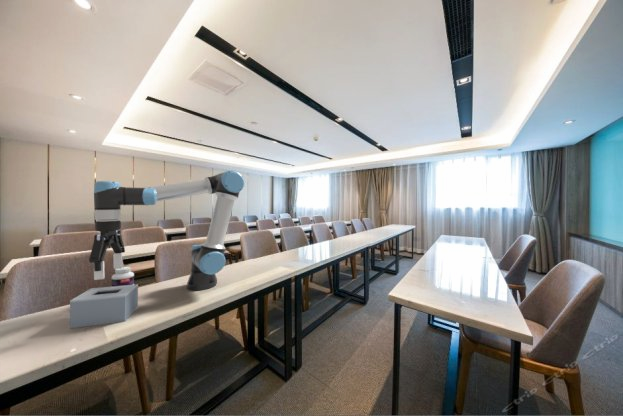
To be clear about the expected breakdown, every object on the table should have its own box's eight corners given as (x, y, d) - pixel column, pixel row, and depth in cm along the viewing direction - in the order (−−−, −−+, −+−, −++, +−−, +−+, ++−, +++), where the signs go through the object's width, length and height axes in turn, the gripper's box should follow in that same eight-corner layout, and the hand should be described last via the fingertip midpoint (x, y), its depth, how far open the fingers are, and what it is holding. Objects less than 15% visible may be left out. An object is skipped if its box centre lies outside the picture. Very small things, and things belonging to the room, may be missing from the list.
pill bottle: (120, 303, 97) (120, 271, 97) (106, 301, 99) (106, 270, 98) (138, 296, 105) (138, 266, 105) (124, 294, 106) (125, 265, 106)
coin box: (137, 307, 94) (138, 284, 94) (124, 321, 83) (125, 295, 82) (90, 312, 88) (90, 288, 88) (69, 328, 77) (70, 300, 77)
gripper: (112, 218, 96) (113, 265, 96) (73, 223, 72) (75, 286, 73) (133, 218, 98) (134, 264, 99) (102, 222, 75) (103, 283, 75)
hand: (109, 273), depth 86 cm, fingers open, 13 cm apart
